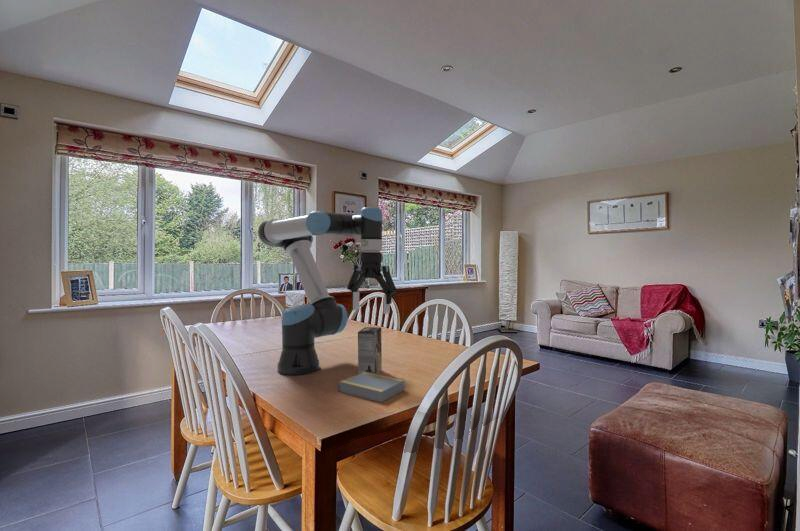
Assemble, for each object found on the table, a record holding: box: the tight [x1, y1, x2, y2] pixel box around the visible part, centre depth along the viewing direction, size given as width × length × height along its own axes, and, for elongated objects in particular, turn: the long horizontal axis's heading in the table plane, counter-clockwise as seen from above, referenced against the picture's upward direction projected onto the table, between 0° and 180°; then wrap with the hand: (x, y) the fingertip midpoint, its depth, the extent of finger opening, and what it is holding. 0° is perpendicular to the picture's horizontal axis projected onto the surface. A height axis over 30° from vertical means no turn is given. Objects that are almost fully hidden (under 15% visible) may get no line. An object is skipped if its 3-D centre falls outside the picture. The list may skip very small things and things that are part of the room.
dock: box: [337, 372, 405, 403], centre depth 120 cm, size 17×12×3 cm
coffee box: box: [357, 326, 383, 375], centre depth 137 cm, size 9×6×16 cm
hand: (370, 311), depth 136 cm, fingers open, 13 cm apart
